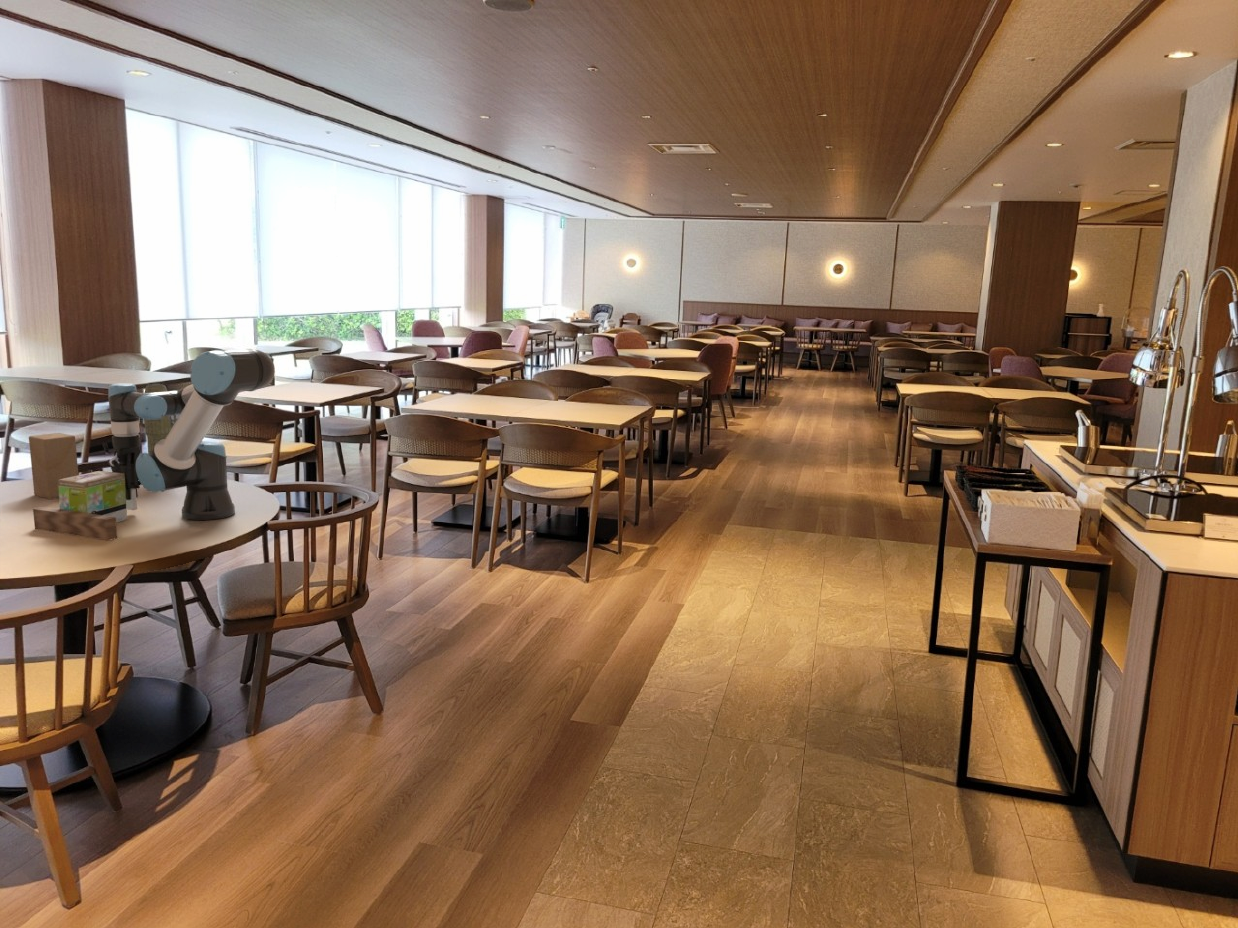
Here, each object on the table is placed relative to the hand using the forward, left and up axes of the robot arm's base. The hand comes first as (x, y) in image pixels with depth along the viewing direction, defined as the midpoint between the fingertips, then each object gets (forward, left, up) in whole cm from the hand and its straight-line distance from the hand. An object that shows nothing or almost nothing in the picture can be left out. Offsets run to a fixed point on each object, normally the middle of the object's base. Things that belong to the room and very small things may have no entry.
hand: (131, 509), depth 279 cm
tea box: (0, +13, -2) cm, 13 cm away
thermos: (+30, -40, -2) cm, 50 cm away
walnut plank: (-3, +22, -2) cm, 23 cm away
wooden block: (+43, -9, -2) cm, 44 cm away
